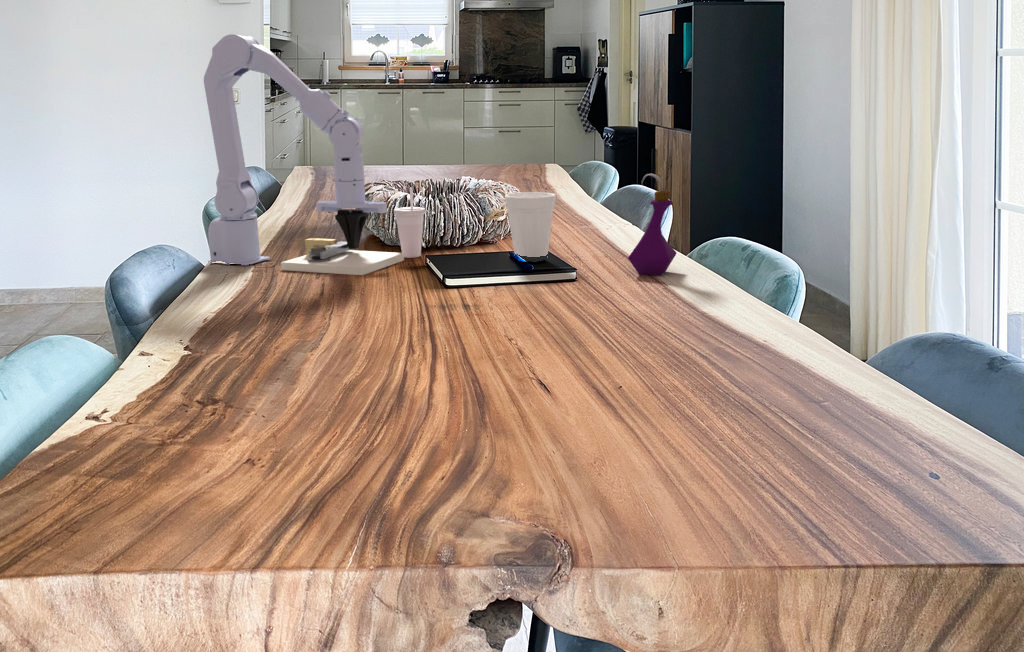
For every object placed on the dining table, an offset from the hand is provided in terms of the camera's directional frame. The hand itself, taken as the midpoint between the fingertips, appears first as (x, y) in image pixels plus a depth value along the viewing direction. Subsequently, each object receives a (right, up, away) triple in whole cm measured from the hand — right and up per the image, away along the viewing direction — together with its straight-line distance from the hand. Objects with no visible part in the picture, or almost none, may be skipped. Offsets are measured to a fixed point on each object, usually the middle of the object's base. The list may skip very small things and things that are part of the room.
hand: (353, 248), depth 202 cm
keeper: (-6, -2, -3) cm, 7 cm away
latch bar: (-4, -1, -3) cm, 5 cm away
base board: (-1, -4, -4) cm, 6 cm away
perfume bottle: (+57, -6, -18) cm, 60 cm away
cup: (+35, -3, -5) cm, 36 cm away
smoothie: (+11, -1, +4) cm, 12 cm away
